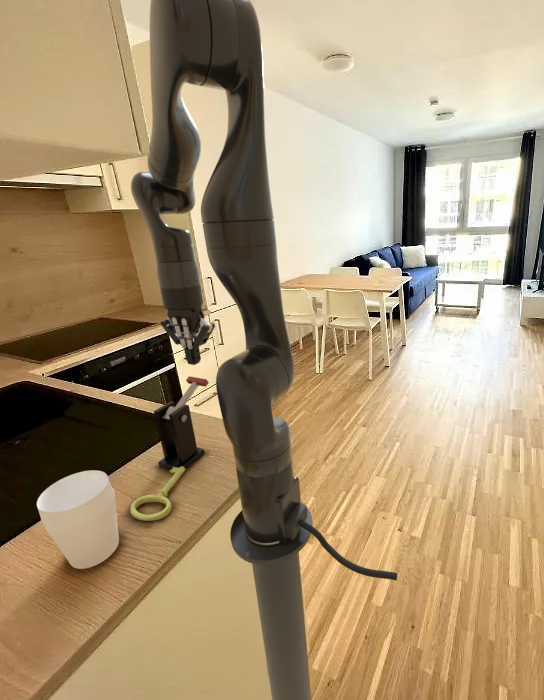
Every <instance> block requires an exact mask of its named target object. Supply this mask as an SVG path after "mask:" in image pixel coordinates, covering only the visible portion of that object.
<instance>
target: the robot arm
mask: <svg viewBox="0 0 544 700" xmlns="http://www.w3.org/2000/svg"><path fill="white" fill-rule="evenodd" d="M149 4H150V5H149V61H150V62H149V63H150V64H149V67H150V93H151V94H150V96H151V97H150V98H151V114H152V115H151V116H152V119H151V122H152V123H151V125H152V126H151V135H150V140H149V147H148V154H147V169H148V171H139V172H137V173H135V174H134V175H133V177H132V178H131V182H130V192H131V196H132V198H133V201H134V202H135V204H136V206H137V209H138V210H139V213H140V214H141V216H142V218H143V221H144V223H145V225H146V227H147V230H148V233H149V235H150V239H151V241H152V242H151V243H152V246H153V251H154V255H155V261H156V274H157V279H158V284H159V285H158V286H159V290H160V295H161V301H162V305H163V308H164V309H165V310H167V313H166V314H167V317H166V318H165V319H163V320H161V321H160V325H161V327H162V329H164V331H165V332H166V333H167V335H168V337H170V338H171V340H172V341H173V343H174V344H175V345H177V346H179V345H180V346H181V348H183V350H184V356H185V360H186V362H187V364H188V365H190V366H191V365H192V366H196V365H197V364H200V362H201V359H202V357H201V351H200V350H201V349H200V347H201V346H203V345H205V344H207V342H208V340H209V338H210V337H211V335H212V334H213V331H214V330H215V328H216V325H215V323H214V322H209V321H208V320H206V319H205V313H204V312H203V309H202V308H203V307H202V306H203V304H204V299H203V292H202V287H201V280H200V279H201V278H200V273H199V269H198V266H197V261H196V255H195V249H194V243H193V237H192V234H191V232H190V231H189V230H188V229H186V228H183V227H177V226H173V225H169V224H167V223H165V222H164V221H163V219H162V217H161V215H185V214H188V213H190V212H191V211H192V210H194V208H195V206H196V193H195V187H194V179H195V178H194V177H195V174H196V170H197V167H198V164H199V162H200V158H201V154H202V141H201V136H200V133H199V130H198V127H197V125H196V123H195V121H194V119H193V117H192V116H191V114H190V112H189V110H188V108H187V106H186V104H185V102H184V99H183V97H182V89H183V86H184V84H189V85H193V86H198V87H203V88H209V89H215V90H221V91H225V94H226V102H227V132H226V137H225V140H224V144H223V147H222V150H221V153H220V155H219V157H218V160H217V162H216V164H215V167H214V169H213V171H212V173H211V175H210V178H209V180H208V182H207V185H206V188H205V189H204V192H203V195H202V199H201V203H200V217H201V223H202V229H203V235H204V236H203V237H204V243H205V247H206V253H207V259H208V260H209V261H208V262H209V264H210V266H211V268H212V270H213V272H214V274H215V275H216V277H217V278H218V280H219V282H220V283H221V284H222V286H223V287H224V289H225V290H226V292H227V293H228V294H229V296H230V297H231V298H232V300H233V301H234V303H235V305H236V306H237V308H238V309H237V310H239V313H240V316H241V319H242V324H243V330H244V336H245V337H244V338H245V350H243V351H242V352H240V353H238V354H236V355H234V356H232V357H231V358H229V359H227V360H225V361H224V362H223V363H222V364H221V365H220V366H219V367H218V369H217V372H216V376H215V388H216V389H215V390H216V395H217V400H218V404H219V409H220V413H221V418H222V423H223V427H224V431H225V434H226V436H227V437H228V439H229V441H230V443H231V445H232V450H233V457H234V464H235V471H236V472H235V473H236V478H237V484H238V491H239V498H240V506H241V511H242V512H243V518H244V524H245V526H244V528H245V534H246V537H247V538H248V540H249V541H250V542H252V543H253V544H255V545H257V546H261V547H272V546H276V545H283V546H286V545H287V544H288V542H289V540H290V539H293V540H294V539H295V537H296V535H297V534H298V532H299V530H300V529H301V527H303V528H304V529H306V530H307V531H309V532H310V533H311V535H312V536H314V538H316V539H317V541H318V542H319V543H320V545H321V546H322V548H323V549H324V550H325V551H326V552H327V553H328V554H329V555H330V556H331V557H332V558H333V559H334V560H336V561H337V562H338V563H339V564H340V565H342V566H343V567H345V568H347V569H348V570H350V571H353V572H354V573H357V574H359V575H363V576H365V577H369V578H374V579H375V578H376V579H384V580H390V581H391V580H392V581H398V572H394V571H388V570H387V571H386V570H379V569H373V568H372V569H371V568H367V567H365V566H361V565H358V564H356V563H353V562H352V561H350V560H348V559H347V558H345V557H344V556H342V555H341V554H340V553H339V552H338V551H337V550H336V549H335V548H334V547H332V545H331V544H330V543H329V542H328V541H327V540H326V538H325V536H324V535H323V534H322V533H321V532H320V530H318V529H317V528H315V527H314V526H313V525H312V526H311V525H310V524H308V523H307V522H305V520H306V519H307V508H308V505H307V504H305V503H304V504H305V505H304V504H301V502H302V498H301V483H300V478H299V477H298V476H295V472H294V459H293V448H292V447H293V446H292V435H291V427H290V425H289V424H288V422H286V420H285V419H283V418H281V417H278V416H274V414H273V405H275V403H277V402H278V401H280V400H281V399H282V398H283V397H284V396H285V395H286V394H287V393H288V392H289V391H290V390H291V388H292V386H293V384H294V381H295V364H294V358H293V352H292V348H291V342H290V338H289V334H288V329H287V323H286V320H285V313H284V305H283V297H282V288H281V280H280V271H279V263H278V262H279V261H278V247H277V238H276V237H277V236H276V227H275V220H274V210H273V204H272V196H271V187H270V186H271V185H270V177H269V168H268V167H269V166H268V155H267V145H266V142H267V141H266V119H265V118H266V115H265V79H264V55H263V42H262V32H261V27H260V23H259V22H260V21H259V18H258V15H257V12H256V9H255V7H254V5H253V4H252V1H251V0H150V3H149Z"/></svg>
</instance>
